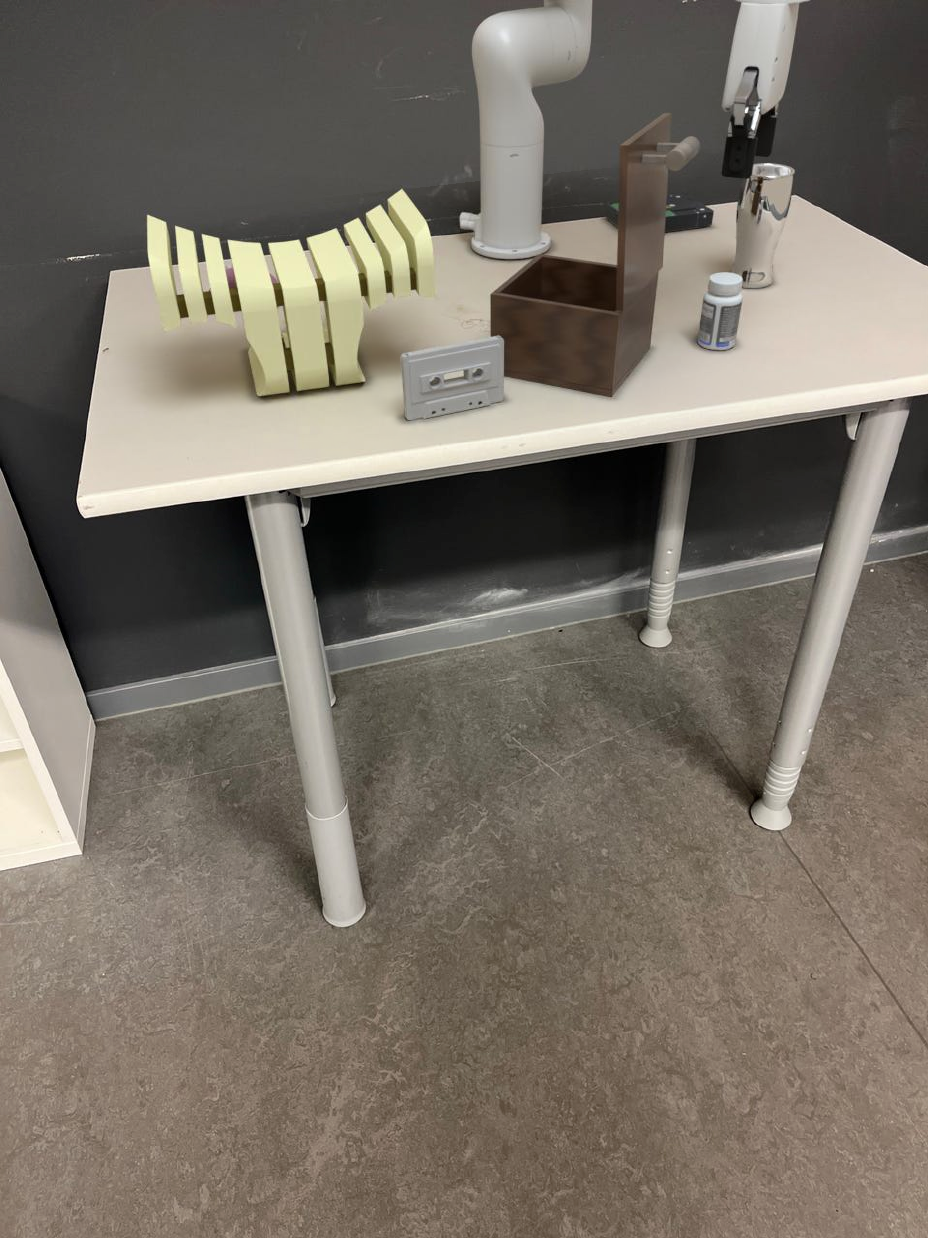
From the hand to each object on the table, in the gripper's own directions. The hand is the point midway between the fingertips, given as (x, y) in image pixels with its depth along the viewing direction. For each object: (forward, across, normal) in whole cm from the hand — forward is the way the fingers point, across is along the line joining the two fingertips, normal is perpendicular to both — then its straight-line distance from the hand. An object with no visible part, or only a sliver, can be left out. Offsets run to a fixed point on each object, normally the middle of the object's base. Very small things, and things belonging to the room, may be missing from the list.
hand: (746, 165), depth 104 cm
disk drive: (+21, -43, -22) cm, 53 cm away
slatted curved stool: (+21, +28, -44) cm, 56 cm away
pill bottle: (+21, 0, 0) cm, 21 cm away
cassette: (+21, +29, -23) cm, 43 cm away
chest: (+21, +12, -16) cm, 29 cm away
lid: (+3, +12, -8) cm, 15 cm away
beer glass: (+21, -23, -2) cm, 31 cm away
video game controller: (+21, +15, -64) cm, 68 cm away
